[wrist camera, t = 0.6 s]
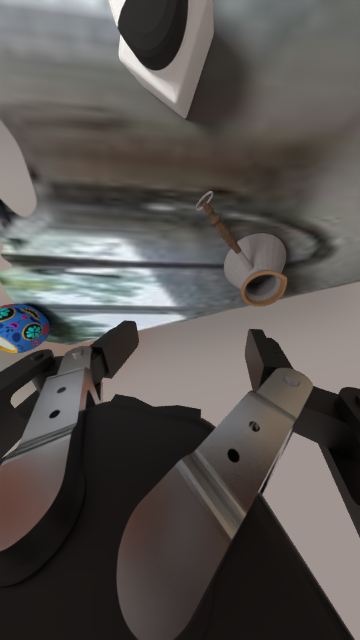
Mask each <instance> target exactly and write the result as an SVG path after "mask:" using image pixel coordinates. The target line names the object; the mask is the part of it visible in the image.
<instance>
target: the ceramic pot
mask: <svg viewBox="0 0 360 640" xmlns="http://www.w3.org/2000/svg"><path fill="white" fill-rule="evenodd" d="M49 330H50V324H49V322H48V320H47V318H46V317H45V316H44V315H43V314H42V313H41V312H39V311H38V310H36V309H34V308H32V307H30V306H27V305H23V304H9V305H4V306H1V307H0V349H1V350H4V351H7V352H10V353H22V352H26V351H29V350H31V349H34V348H35V347H37V346H39V345H40V344H41V343H42V342H43V341H44V340H45V339H46V338H47V336H48V334H49Z"/></svg>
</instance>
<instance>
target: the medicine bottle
mask: <svg viewBox="0 0 360 640" xmlns="http://www.w3.org/2000/svg"><path fill="white" fill-rule="evenodd" d="M109 1H110V5H111V10H112V13H113V16H114V20H115V22H116V25H117V27H118V30H119V32H120V34H121V36H120V45H119V58H120V60H121V62H122V63H123V64H124V65H125V66H126V67H127V69H128V70H129V71H130V72H131V73H132V74H133V75H134V77H135V78H136V79H137V80H138V81H139V82H140V83H141V85H142V86H143V87H145V88H146V89H147V90H148V91H150V92H151V93H152V94H153V95H155V96H156V97H157V98H159V99H160V100H161V101H162V102H164V103H165V104H166V105H167V106H169V107H170V108H171V109H173V110H174V111H175V112H176V113H178V114H179V115H180V116H181V117H183V118H184V119H185V118H186V117H187V115H188V112H189V109H190V106H191V103H192V100H193V97H194V94H195V91H196V87H197V84H198V81H199V78H200V75H201V72H202V69H203V66H204V63H205V60H206V57H207V54H208V51H209V48H210V45H211V42H212V38H213V35H214V24H213V4H212V0H109Z"/></svg>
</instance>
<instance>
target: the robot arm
mask: <svg viewBox="0 0 360 640" xmlns="http://www.w3.org/2000/svg"><path fill="white" fill-rule="evenodd" d="M138 343H139V338H138V332H137V326H136V323H135V321H123V322H122V323H120V324H119V325H118V326H117V327H115V328H113V329H111V330H109V331H108V332H107V333H106V334H104V335H103V336H102V337H100V338H99V339H98V340H97V341H95V342H94V343H93V344H92V345H90V346H80V347H76V348H74V349H71V350H70V351H68V352H67V353H66V354H65V355H64V356H57V357H54V354H53V352H52V351H51V350H49V349H46V350H40V351H36V352H34V353H31V354H29V355H27V356H26V357H24V358H23V359H21V360H19V361H18V362H16V363H14V364H13V365H11V366H9V367H8V368H6V369H4V370H3V371H1V372H0V640H355V639H354V638H353V636H352V635H351V633H350V632H349V630H348V628H347V627H346V625H345V624H344V622H343V621H342V619H341V618H340V616H339V614H338V613H337V611H336V610H335V608H334V607H333V605H332V603H331V602H330V600H329V599H328V597H327V596H326V594H325V592H324V591H323V589H322V588H321V586H320V585H319V583H318V581H317V580H316V578H315V577H314V575H313V574H312V572H311V571H310V569H309V567H308V566H307V564H306V563H305V561H304V560H303V558H302V556H301V555H300V553H299V552H298V550H297V549H296V547H295V545H294V544H293V543H292V541H291V539H290V538H289V536H288V535H287V533H286V531H285V530H284V528H283V527H282V525H281V524H280V522H279V520H278V519H277V517H276V516H275V514H274V513H273V511H272V509H271V508H270V506H269V505H268V503H267V502H266V500H265V499H264V497H263V494H264V492H265V490H266V487H267V485H268V483H269V481H270V479H271V477H272V475H273V473H274V471H275V469H276V467H277V464H278V462H279V460H280V458H281V456H282V454H283V452H284V450H285V448H286V446H287V444H288V442H289V440H290V438H291V436H292V434H293V432H295V433H297V434H299V435H301V436H303V437H306V438H308V439H310V440H312V441H314V442H316V443H318V444H319V447H320V449H321V451H322V453H323V456H324V458H325V460H326V462H327V465H328V467H329V469H330V471H331V474H332V476H333V478H334V480H335V483H336V485H337V487H338V490H339V492H340V494H341V496H342V498H343V501H344V503H345V505H346V508H347V510H348V512H349V514H350V517H351V519H352V521H353V523H354V526H355V528H356V530H357V533H358V535H359V537H360V389H357V388H353V387H345V388H342V389H341V390H340V392H339V394H335V393H332V392H329V391H326V390H323V389H320V388H317V387H315V386H313V384H312V382H311V381H310V379H309V378H308V377H306V376H305V375H304V374H302V373H300V372H298V371H296V370H294V369H293V367H292V366H291V364H290V363H289V361H288V359H287V357H286V356H285V354H284V352H283V351H282V350H281V348H280V346H279V344H278V343H277V342H276V341H275V340H273V339H272V338H266V336H265V334H264V332H263V330H260V329H249V331H248V336H247V342H246V348H245V359H246V363H247V368H248V371H249V376H250V381H251V385H252V389H253V391H252V390H251V391H250V392H248V393H247V394H246V395H245V397H244V398H243V399H242V400H241V401H240V402H239V403H238V404H237V405H236V406H235V407H234V409H233V410H232V411H231V412H230V413H229V414H228V415H227V416H226V417H225V418H224V420H223V421H222V422H221V423H220V424H219V425H218V426H217V427H215V426H214V425H212V424H211V423H210V422H208V421H206V420H205V419H203V418H201V410H200V409H196V408H190V407H185V406H179V405H175V406H159V407H153V406H151V405H149V404H147V403H145V402H143V401H141V400H139V399H137V398H134V397H129V396H123V395H118V394H115V396H114V398H113V399H112V400H111V401H109V402H103V382H102V379H103V377H104V378H111V379H112V378H113V376H114V375H115V373H116V372H117V371H118V370H119V369H120V368H121V366H122V365H123V364H124V363H125V361H126V360H127V359H128V358H129V356H130V355H131V354H132V353H133V352H134V350H135V349H136V348H137V346H138ZM31 380H32V382H33V384H34V385H35V387H36V389H37V390H36V391H35V392H34V393H33V394H31V395H30V396H29V397H28V398H27V399H25V400H24V401H23V402H22V403H21V404H19V405H18V406H17V407H16V408H14V407H13V406H12V404H11V402H10V400H11V397H12V395H13V394H14V393H15V392H16V391H17V390H18V389H20V388H21V387H23V386H24V385H25V384H26V383H28V382H29V381H31ZM20 439H21V440H20ZM19 440H20V443H19V445H18V446H17V448H16V449H15V450H14V451H12V452H11V453H9V454H8V455H7V456H5V457H3V456H4V455H5V454H6V453H7V452H8V451H9V450H10V449H11V448H12V447H13V446H14V445H15V444H16V443H17V442H18V441H19ZM2 457H3V458H2Z"/></svg>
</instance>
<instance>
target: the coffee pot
mask: <svg viewBox="0 0 360 640" xmlns="http://www.w3.org/2000/svg"><path fill="white" fill-rule="evenodd" d="M210 193H212V194H211V197H210V198H209V200H208V201H207V202H204V203H203V204H202V207H201V208H199V209H198V205H199V204H200V202H201V201H202V200H203V198H204V197H206V196H207V195H208V194H210ZM212 197H213V192H212V191H210V192H208V193H206V194H205V195H204V196H203V197H202V198H201V199H200V201H199V202H198V204H197V205H196V209H197V210H198V211H199V210H201V209H202V208H203V209H204V211H205V213H206V215H208V216H209V217H210V218H211V224H213V225H215V226H216V228H217V230H218V232H219V234H220V236H221V237H222V238H223V239H224V240H225V242H226V243H227V244H228V245H229V246H230V247H231V249H230V251H229V252H228V254H227V256H226V259H225V263H224V271H225V275H226V277H227V279H228V281H229V282H230V283H231V284H232V285H234V286H236V287H237V288H239V289H241V296H242V298H243V300H244V301H245V302H246V303H248V304H250V305H252V306H266V305H269V304H272V303H274V302H275V301H277V300H278V299H279V298H281V296H282V295H283V294H284V292H285V289H286V285H287V277H286V276H284V275H283V274H281V273H282V270H283V268H284V265H285V262H286V250H285V247H284V245H283V243H282V242H281V240H280V239H278V238H277V237H275V236H274V235H270V234H266V233H256V234H252V235H249V236H246V237H244V238H243V239H241V240H239V241H238V242H237V241H236V239H235V238H234V236H233V234H232V233H231V231H230V229H229V228H228V227H227V226H226V225H225V224H224V223H223V222H222V221H221V220H220V215H219V214H215V213H214V211H213V208H212V207H211V206H210V205H209V204H208V203H209V202H210V200H211V199H212Z"/></svg>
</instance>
